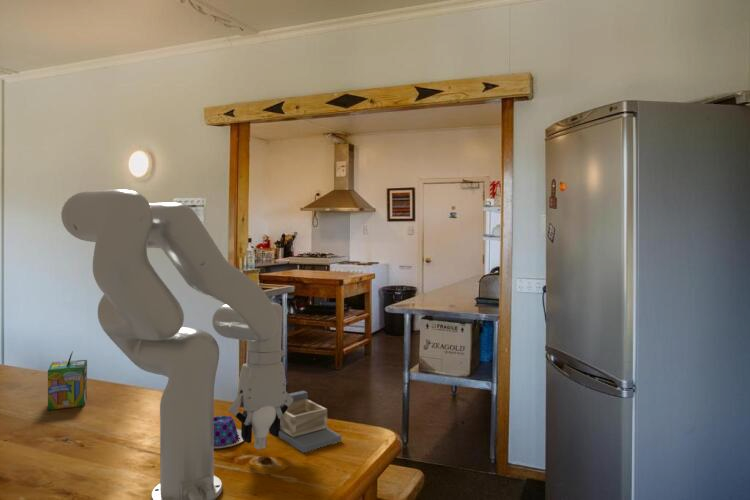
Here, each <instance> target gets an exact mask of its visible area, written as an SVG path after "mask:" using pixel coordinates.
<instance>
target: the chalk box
mask: <svg viewBox="0 0 750 500" xmlns="http://www.w3.org/2000/svg"><path fill="white" fill-rule="evenodd" d="M73 352H74V351H71V353H70V355H69V358H68V360H65V361H64V360H63V361H52V362H51V364H50V366H49V367H48V370H47V411H52V410H60V409H61V410H62V409H69V408H79V407H84V406H86V401H87V397H88V395H87V393H88V391H87V387H88V386H87V379H88V378H87V377H88V360H87V359H82V360H81V359H80V360H72V356H73Z"/></svg>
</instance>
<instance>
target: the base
mask: <svg viewBox="0 0 750 500" xmlns="http://www.w3.org/2000/svg"><path fill="white" fill-rule="evenodd" d="M308 393H309V392H308V391H306V390H299V391H296V392H291V393H288V394H289V395H290V396H291V397H292V398H293V401H297V400H302V399H308ZM308 400H309V399H308ZM269 432H270V428H269ZM278 438H280V439H282V440H283V441H285V442H286V443H287V444H289V445H290V446H292V447H294V448H295V449H297V450H298V451H299V452H301V453H302V452H303V453H302V454H305V453H309V452H311V450H312V451H315V450H318V449H317V448H319V449H321V448H320V447H322V448H324V447H323V446H325V447H327V446H326V445H329V444H332V445H334V444H333V443H335V442H339V441H341V442H342V435H341V434H340V433H337V432H335V431H334V430H332V429H330V428H328V427H327V428H324V429H321V430H317V431H313V432H310V433H306V434H302V435H299V436H295V437H292V436H290V435H289V434H287V433H286V432H284V431H282V430H281V429H280V431H279V437H278ZM339 443H340V442H339ZM335 444H336V443H335ZM329 446H330V445H329ZM314 449H315V450H314ZM308 451H309V452H308ZM304 452H305V453H304Z"/></svg>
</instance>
